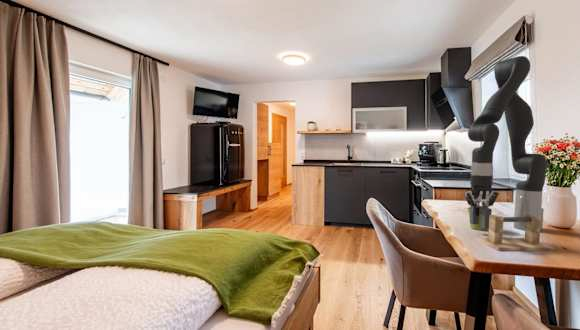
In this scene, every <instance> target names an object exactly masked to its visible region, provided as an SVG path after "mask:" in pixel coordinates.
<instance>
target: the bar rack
mask: <svg viewBox="0 0 580 330" xmlns="http://www.w3.org/2000/svg"><path fill="white" fill-rule="evenodd" d="M514 222H526V226H525V230H524V237H504V236H503V231H504V223H514ZM540 225H541V217H540V216H537V215H526V217H514V216H503V215H499V214H491V215H490V217H489V229H488V234H487V235H488V236H487V237H476V241H477V242H479V243H481V244H483V245H485V246H487V247H489V248H491V249H494V250H496V251H500V252H501V251H504V252H505V251H506V252H507V251H554V247H553V246H550V245H548V244H546V243H545V244H544V243H542V242H540V240H541V238H540V236H541V230H540Z"/></svg>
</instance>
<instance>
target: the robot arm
mask: <svg viewBox="0 0 580 330" xmlns="http://www.w3.org/2000/svg"><path fill="white" fill-rule="evenodd" d="M530 71H531V61H530V60H529V58H528V57H527V56H525V55H520V56H519V55H518V56H515V57H514V56H513V57H511V58H507V59H504V60H500V61H498V62H496V64H495V65H494V70H493V73H494V78H495V82H496V85H497V89H498V90H497V91H495V93H493V94H492V95H491V96H490V97H489V99H488V100H487V102H486V103H485V105H484V107H483V110H482V111H481V114H479V115H478V116H477V118H476V119H475V120H473V122H472V123H471V125H470V126H469V128H468V131H467V136H468V139H469V140H470V141H471V142H474V143H475V142H476V143H477V142H479V143H481V142H483V143H482V145H481V146H480V147H475V148H473V149H472V152H471V167H470V188H469V190H468V191H464V192H463V196H464V198H465V200H466V202H467V205H469V206H470V205H471V206H473V215H474V216H476V217H479V205H480V204H481V206H483V207H486V208H489V207H493V206H494V204H495V202H496V200H497V198H498V196H499V194H500V193H499V192H497V191H494V190H493V188H492V186H493V184H494V183H493V182H494V165H493V161H494V151H495V148H496V146H497V142H498V140H499V136H500V128H499V127H498V125H497V123H499V122H500V120H501V119H502V117H503V115H504V118H505V122H506V126H507V127H506V128H507V132H508V137H509V143H510V144H509V145H510V152H511V153H510V155H511V163H512V168H513V170H514V172H515V173H516V174H520V175H528V178H527V179H526V180H523V181H519V182H517V183H516V184H515V196H514V197H515V198H514V199H515V200H514V216H513V217H526V215H537V216H540V217H541V225H540V231H543V225H544V208H543V205H542V203H543V192H544V191H543V190H544V186H545V184H546V183H545V182H546V175H547V169H548V160H547V158H546V156H545V155H543V154H542V153H527V150H526V141H527V139H528V137H529V135H530V133H531V131H532V130H533V128H534V127H533V126H534V124H535V123H534V121H535V120H534V115H533V111H532V107H531V106H530V105H529V103H527V102H526V101H525V100H524V99H523V98H522V97H521V96H520V95H519V94H518V93H517V91H518V90H519V88H520V87H521V85H522V84H523V82H524V81H525V80H526V78H527V77H528V75H529V73H530ZM481 215H482V213H481ZM525 226H526V222H513V227H514V228H516V229H519V230H522V231H525Z"/></svg>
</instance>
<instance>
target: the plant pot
mask: <svg viewBox="0 0 580 330" xmlns="http://www.w3.org/2000/svg"><path fill="white" fill-rule="evenodd" d="M466 210H467V212H468V217H469V219H470V206H469V207H466ZM491 213H493V210H492V209H491ZM481 216H482V215H481V213H480V212H479V224H471V223H470V222H469V226H470V229H473V230H476V231H477V230H478V231H487V229H483V228H481Z"/></svg>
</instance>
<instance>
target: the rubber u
mask: <svg viewBox="0 0 580 330" xmlns="http://www.w3.org/2000/svg"><path fill="white" fill-rule="evenodd" d="M469 207H470V218H469V224H470V223H471V224H479V217H476V216H474V215H473V206H471V205H469ZM491 210H492V208H489V207H488V208H486V207H483V206H482V205H480V204H479V212H480V213H482V216H481V228H483V229H486V230H489V217H490V215H492V212H491Z"/></svg>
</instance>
